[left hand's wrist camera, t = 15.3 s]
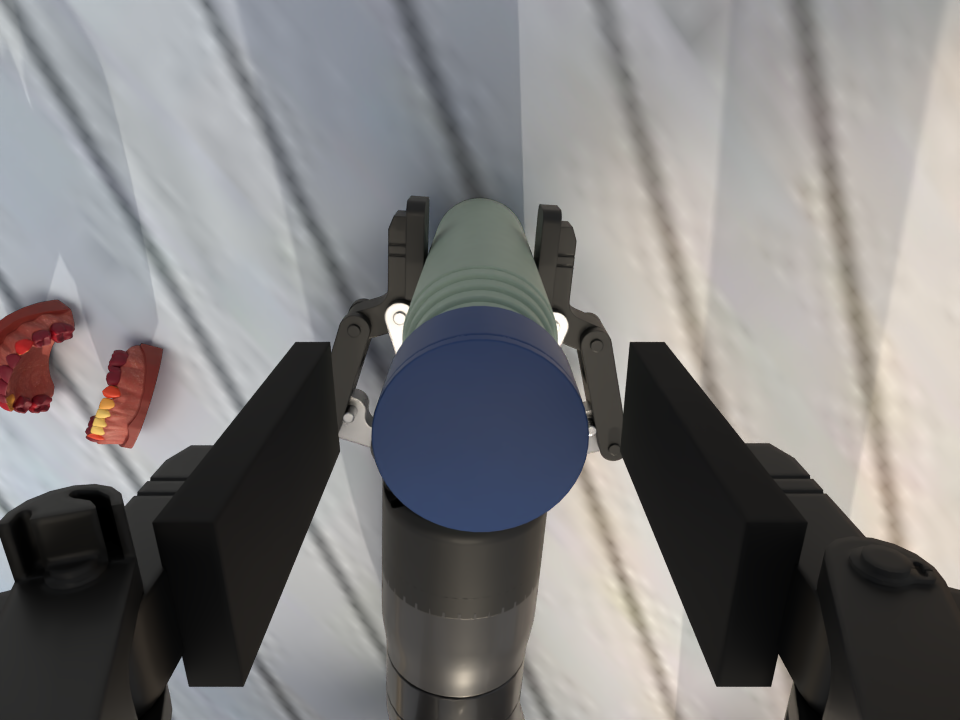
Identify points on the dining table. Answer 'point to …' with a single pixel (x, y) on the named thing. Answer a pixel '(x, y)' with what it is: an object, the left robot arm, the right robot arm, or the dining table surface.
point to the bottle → (480, 267)
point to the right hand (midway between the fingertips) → (483, 205)
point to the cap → (480, 421)
